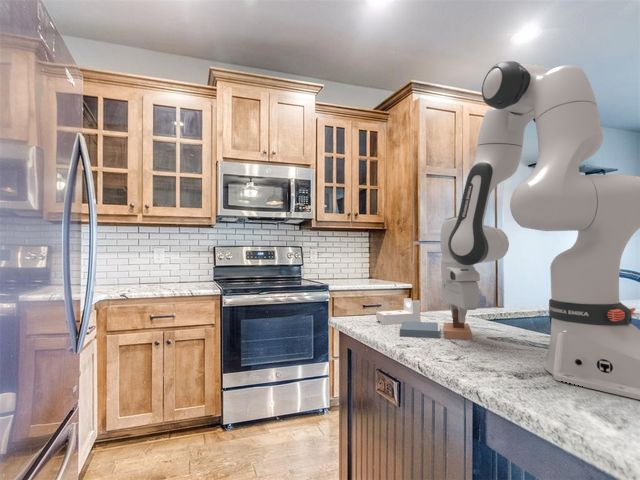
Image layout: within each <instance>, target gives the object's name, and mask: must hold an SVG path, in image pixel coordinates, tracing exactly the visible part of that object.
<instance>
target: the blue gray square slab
mask: <svg viewBox="0 0 640 480" xmlns="http://www.w3.org/2000/svg"><path fill="white" fill-rule="evenodd" d="M399 337H409V338H411V337H412V338H424V339H425V338H428V339H429V338H430V339H441V324H440V322H439V321H438V322H429V321H428V322H427V321H420V322H406V321H403V323H402V324H400V327H399Z"/></svg>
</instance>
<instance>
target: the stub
mask: <svg viewBox="0 0 640 480" xmlns="http://www.w3.org/2000/svg"><path fill="white" fill-rule="evenodd" d="M452 310H453V319H452V322H443V334H444V338H445V339H454V340H457V339H458V340H472V339H473V336H472V335H473V334H472V333H473V332H472V329H471V327H470V325H469V323H467V322H465V323H460V322H458V321H457V316H458V312H459V310H458V309H452Z"/></svg>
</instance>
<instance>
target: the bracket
mask: <svg viewBox="0 0 640 480" xmlns="http://www.w3.org/2000/svg"><path fill="white" fill-rule="evenodd" d="M375 314H376V315H375V318H376V320H377V321H379V324H381V323H382V324H381V325H383V326H393V324H395V325H402V323H403V321H406V322H421V300H412V298H403V309H401V310H399V309H397V310H383V311H376V312H375Z"/></svg>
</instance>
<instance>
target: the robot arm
mask: <svg viewBox="0 0 640 480" xmlns="http://www.w3.org/2000/svg"><path fill="white" fill-rule="evenodd" d="M481 95H482V100H483V102H484V103H485V104H486V105H487V106H489V108H488V109H487V110H486V111H485V113H484V115H483V118H482V120H481V124H480V128H479V131H478V137H477V144H476V149H475V154H474V155H475V156H474V161H473V164H472V167H471V169H470V170H469V172H468V175H467V178H466V181H465V185H464V190H463V194H462V199H461V202H460V207H459V211H458V216H453V217H449V218H447V219H446V220H444V221H443V222H442V224H441V229H440V250H441V253H442V254H441V255H442V256H441V260H440V270H441V272H440V273H441V275H440V276H441V277H440V278H441V289H440V290H441V293H440V294H441V300H442V301H444V302H445V303H448V304H449V308H450V311H451V319H452V320H453V310H452V309H458V310H459V312H458V316H457V321H458V322H460V323H466V316H467V312H468V311H472V310H473V311H476V310H477V309H478V307H479V298H480V297H479V295H480V288H479V282H480V281H481V274H480V273H479V272H478V271H477V270H476V269H475V267H474V265H476V264H479V263H480V264H481V263H489V262H490V263H491V262H496V261H499V260H501V259H502V258H504V256H506V255H507V253H508V251H509V246H510V242H509V238H508V236H507V234H506V233H505V232H504V231H503V230H502V229H500V228H497V227H495V226H490V225H486V224H484V223H485V218H486V214H487V209H488V205H489V200H490V196H491V195H492V192H493V191H494V190H495V188H496V187H497V186H498V185H499V184H501V183H502V182H504V181H506V180H508V179H510V178H511V177H512V176H514V175H515V173H517V170H518V167H519V165H520V162H521V159H522V152H523V147H524V139H525V138H524V135H525V132H526V127H527V126H528V125H529V123H530V122H532V121H533V122H534V123H535V128H536V129H535V130H536V135H537V147H538V150H537V151H538V153H537V155H538V156H537V161H536V164H535V166H534V168H533V171H532V172H531V173H530V174H529V175H528V176H527V177H526V178H525V179H524V180H523V181H521V182H520V183H519V184H518V185H517V186H516V188H515V189H514V191H513V192H512V194H511V197H510V201H509V208H510V213H511V216H512V217H513V218H512V219H513V220H514V221H515V222H516V223H517V225H519V226H520V227H521V228H523V229H530V230H536V231H541V232H568V231H569V232H572V231H573V232H574V231H577V237H576V240H575V243H574V244H573V246H571V247H570V248H568V249H566V250H564V251H562V252H560V253H558V255H556V256H555V257H554V258H553V260H552V261H551V263H550V268H549V269H550V295H551V297H550V299H549V300H548V317H549V321H550V337H549V346H548V352H547V356H546V359H545V362H544V367H543V368H544V369H545V370H546V371H547V372H548V373H550V374H551V375H552V376H553V377H552V378H553V379H554V380H555V381H558V382H561V381H563V382H562V383H565V382H567V383H566V384H569V383H571V385H574V384H575V386H578V385H579V386H580V387H582V386H583V388H588V389H592V390H595V391H600V392H605V393H609V394H612V395H618V396H622V397H626V398H632V399H634V400H638V401H639V400H640V329H639V328H638V327H637V326H635V325H633V323H632V321H633V315H636V314H637V313H636V310H637V309H636V308H635V307H632V308H629V307H627V306H626V305H624V304H623V303H622V302H621V301H620V269H621V268H620V267H621V266H620V265H621V260H622V256H623V253H624V251H625V249H626V247H627V245H628V243H629V241H630V240H631V239H632V237H633V236H634V234H635V233H636V232H637V231H639V229H640V176H637V175H632V174H631V175H630V174H623V173H609V174H608V173H607V174H606V173H603V174H582V173H581V172H580V166H579V165H580V164H581V163H583V162H585V161H587V160H588V159H590V158H591V157H593V156H594V155H595V154H597V153H598V151H599V150H600V148H601V146H602V144H603V141H604V135H603V129H602V125H601V120H600V114H599V109H598V104H597V101H596V97H595V96H596V95H595V92H594V90H593V88H592V86H591V83H590V81H589V79H588V77H587V75H586V73H585V71H584V70H583V69H582V68H580V67H579V66H578V65H574V64H565V65H564V64H563V65H559V66H556V67H553V68H550V67H546V66H543V65H540V64H535V63H525V62H517V61H513V60H512V61H511V60H509V61H501V62H498V63H496V64H495V65H493V66H492V67H491V68H490V69H489V71H488V72H487V73H486V75H485V77H484V79H483V82H482V87H481ZM579 386H578V387H579Z"/></svg>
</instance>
